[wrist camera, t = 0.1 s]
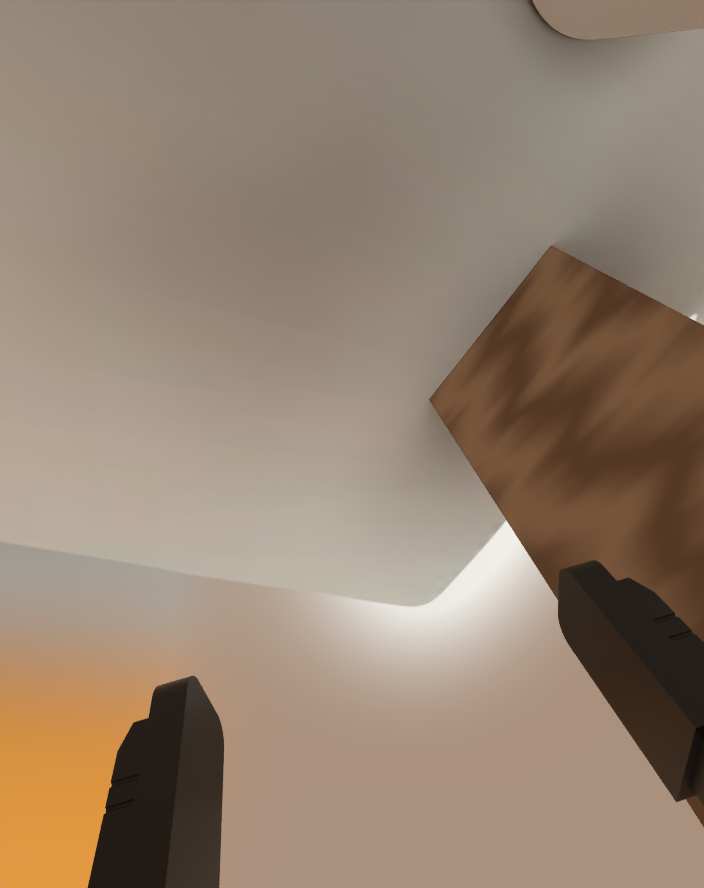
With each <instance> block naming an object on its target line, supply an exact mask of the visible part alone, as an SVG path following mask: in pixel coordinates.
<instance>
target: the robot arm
mask: <svg viewBox="0 0 704 888" xmlns="http://www.w3.org/2000/svg"><path fill="white" fill-rule="evenodd" d="M558 619H559V624H560V627H561V630H562V633H563V635H564V637H565V639H566V641H567V643H568V644H569V646H570V647H571V649H572V650H573V652H574V653H575V654H576V656H577V657H578V659H579V660H580V662H581V663H582V665H583V666H584V668H585V669H586V671H587V672H588V674H589V675H590V677H591V678H592V679H593V681H594V682H595V684H596V685H597V687H598V688H599V690H600V691H601V693H602V694H603V696H604V697H605V698H606V700H607V701H608V703H609V704H610V706H611V707H612V709H613V710H614V712H615V713H616V715H617V716H618V717H619V719H620V720H621V722H622V723H623V725H624V726H625V728H626V729H627V731H628V732H629V734H630V735H631V736H632V738H633V739H634V741H635V742H636V744H637V745H638V747H639V748H640V750H641V751H642V752H643V754H644V755H645V757H646V758H647V760H648V761H649V763H650V764H651V765H652V767H653V768H654V770H655V771H656V773H657V774H658V776H659V777H660V779H661V780H662V782H663V783H664V785H665V786H666V788H667V789H668V790H669V792H670V793H671V795H672V796H673V798H674V799H675V801H676V802H678V801H681V800H684V799H687V798H690V797H693V796H697V797H698V799H699V800H700V802H701V803H702V804H703V806H704V642H703V641H702V640H701V639H700V638H699V637H698V636H697V635H696V634H695V635H694V634H693V633H692V630H691V629H690V628H689V627H688V626H687V625H686V624H685V623H684V622H683V621H682V620H681V618H680V617H676V615H675V612H674V611H673V610H672V609H671V608H670V607H669V606H668V605H667V604H666V603H665V602H664V601H663V600H662V599H661V598H660V597H659V596H658V595H657V594H656V593H655V592H654V591H652V590H650V589H648V588H647V587H645V586H643V585H641V584H640V583H638V582H636V581H634V580H633V579H631V578H629V577H628V578H625V579H621V580H618V581H617V580H616V579H615V578H614V577H613V576H612V575H611V574H610V573H609V571H608V570H607V569H606V568H605V567H604V566H603V565H602V564H601V563H600V562H598V561H596V560H592V561H588V562H585V563H581V564H578V565H575V566H571V567H568V568H564V569H562V570H560V572H559V592H558ZM223 764H224V738H223V731H222V726H221V722H220V719H219V717H218V715H217V713H216V711H215V709H214V707H213V706H212V704H211V702H210V700H209V699H208V697H207V695H206V693H205V692H204V690H203V688H202V686H201V685H200V683H199V681H198V679H197V678H196V677H195V676H190V677H187V678H183V679H180V680H177V681H173V682H170V683H166V684H163V685H159V686H157V687H156V689H155V690H154V693H153V696H152V702H151V707H150V713H149V718H147V719H144V720H140V721H137V722H134V723H133V724H132V726H131V728H130V730H129V732H128V734H127V735H126V737H125V739H124V741H123V743H122V745H121V746H120V748H119V750H118V752H117V757H116V761H115V766H114V770H113V775H112V779H111V783H112V786H111V788H109V793H108V798H107V802H106V807H105V808H106V813H105V814H104V816H103V821H102V825H101V830H100V834H99V839H98V843H97V848H96V852H95V857H94V862H93V866H92V871H91V876H90V880H89V884H88V888H219V876H220V875H219V874H220V848H221V821H222V791H223Z"/></svg>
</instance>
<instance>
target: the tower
mask: <svg viewBox="0 0 704 888" xmlns="http://www.w3.org/2000/svg"><path fill="white" fill-rule="evenodd" d="M430 402H431V403H432V405H433V406H434V408H435V409H436V411H437V413H438V414H439V416H440V417H441V419H442V420H443V422H444V423H445V425H446V427H447V428H448V430H449V431H450V433H451V434H452V436H453V437H454V439H455V441H456V442H457V444H458V445H459V447H460V448H461V450H462V452H463V453H464V455H465V456H466V458H467V459H468V461H469V462H470V464H471V466H472V467H473V469H474V470H475V472H476V473H477V475H478V476H479V478H480V480H481V481H482V483H483V484H484V486H485V487H486V489H487V490H488V492H489V494H490V495H491V497H492V498H493V500H494V501H495V503H496V504H497V506H498V508H499V509H500V511H501V512H502V514H503V515H504V517H505V518H506V520H507V522H508V523H509V525H510V526H511V527H512V529H513V531H514V532H515V534H516V536H517V537H518V539H519V540H520V542H521V543H522V545H523V546H524V548H525V550H526V551H527V552H528V554H529V556H530V557H531V559H532V560H533V562H534V564H535V565H536V567H537V568H538V570H539V571H540V573H541V574H542V576H543V577H544V579H545V581H546V582H547V584H548V585H549V587H550V588H551V590H552V591H553V593H554V595H555V596H556V598H557V599H558V592H559V572H560V570H562V569H564V568H568V567H571V566H575V565H578V564H581V563H585V562H588V561H592V560H596V561H598V562H600V563H601V564H602V565H603V566H604V567H605V568H606V569H607V570H608V571H609V573H610V574H611V575H612V576H613V577H614V578H615V579H616V580H617V581H618V580H621V579H625V578H628V577H629V578H631V579H633V580H634V581H636V582H638V583H640V584H641V585H643V586H645V587H647V588H648V589H650V590H652V591H654V592H655V593H656V594H657V595H658V596H659V597H660V598H661V599H662V600H663V601H664V602H665V603H666V604H667V605H668V606H669V607H670V608H671V609H672V610H673V611H674V612H675V615H676V617H680V618H681V620H682V621H683V622H684V623H685V624H686V625H687V626H688V627H689V628H690V629H691V630H692V633H693V634H694V635H695V634H696V635H697V636H698V637H699V638H700V639H701V640H702V641H703V642H704V326H703V325H702V324H700V323H698V322H696V321H694V320H692V319H690V318H688V317H686V316H684V315H682V314H681V313H679V312H677V311H675V310H673V309H671V308H669V307H667V306H665V305H663V304H661V303H660V302H658V301H656V300H654V299H652V298H650V297H648V296H646V295H644V294H642V293H640V292H639V291H637V290H635V289H633V288H631V287H629V286H627V285H625V284H623V283H621V282H619V281H618V280H616V279H614V278H612V277H610V276H608V275H606V274H604V273H602V272H600V271H598V270H597V269H595V268H593V267H591V266H589V265H587V264H585V263H583V262H581V261H579V260H577V259H576V258H574V257H572V256H570V255H568V254H566V253H564V252H562V251H560V250H558V249H556V248H555V247H553V246H551V247H550V248H549V249H548V251H547V252H546V253H545V255H544V256H543V257H542V258H541V260H540V261H539V262H538V263H537V265H536V266H535V267H534V268H533V270H532V271H531V272H530V273H529V275H528V276H527V277H526V279H525V280H524V281H523V282H522V284H521V285H520V286H519V287H518V289H517V290H516V291H515V292H514V294H513V295H512V296H511V297H510V299H509V300H508V301H507V303H506V304H505V305H504V306H503V308H502V309H501V310H500V311H499V313H498V314H497V315H496V316H495V318H494V319H493V320H492V321H491V323H490V324H489V325H488V327H487V328H486V329H485V330H484V332H483V333H482V334H481V335H480V337H479V338H478V339H477V340H476V342H475V343H474V344H473V345H472V347H471V348H470V349H469V351H468V352H467V353H466V354H465V356H464V357H463V358H462V359H461V361H460V362H459V363H458V364H457V366H456V367H455V368H454V369H453V371H452V372H451V373H450V375H449V376H448V377H447V378H446V380H445V381H444V382H443V383H442V385H441V386H440V387H439V388H438V390H437V391H436V392H435V393H434V395H433V396H432V397H431V399H430ZM686 800H687V802H688V803H689V805H690V806H691V808H692V809H693V811H694V813H695V814H696V816H697V817H698V819H699V820H700V822H701V824H702V825H703V826H704V806H703V804H702V803H701V802H700V800H699V799H698V797H697V796H693V797H690V798H687V799H686Z"/></svg>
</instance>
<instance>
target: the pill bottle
mask: <svg viewBox="0 0 704 888" xmlns="http://www.w3.org/2000/svg"><path fill="white" fill-rule="evenodd" d="M532 1H533V3H534V5H535V7H536V9H537V10H538V12H539V13H540V15H541V16H542V17H543V19H544V20H545V21H546V22H547V23H548V24H549V25H550V26H551V27H552V28H554V29H555V30H557V31H558V32H560V33H562V34H564V35H566V36H569V37H572V38H577V39H585V40H599V39H608V38H618V37H627V36H637V35H646V34H655V33H665V32H674V31H684V30H693V29H702V28H704V0H532Z"/></svg>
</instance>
